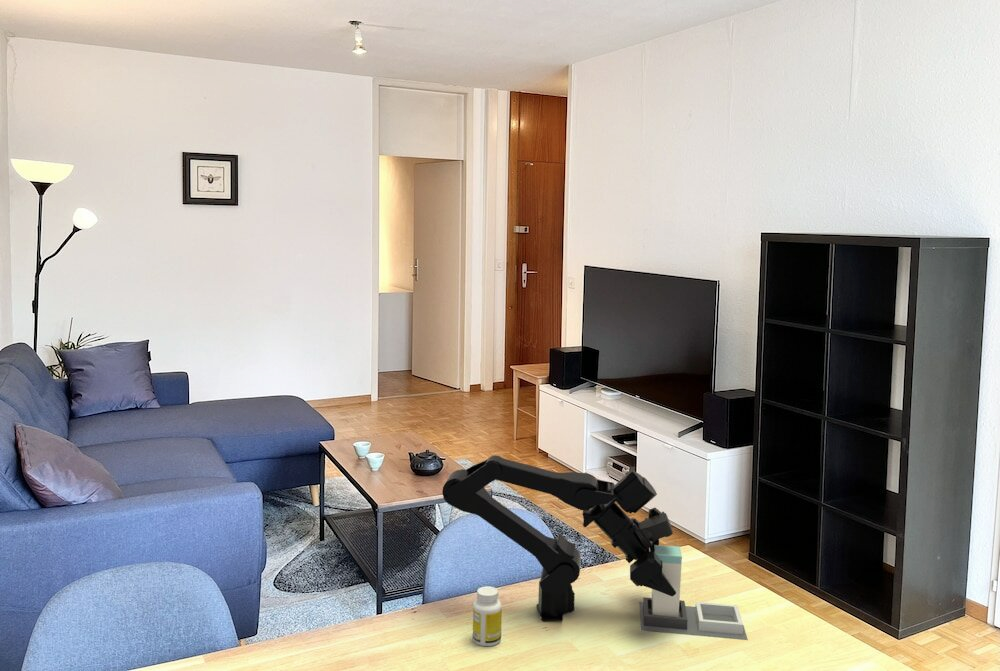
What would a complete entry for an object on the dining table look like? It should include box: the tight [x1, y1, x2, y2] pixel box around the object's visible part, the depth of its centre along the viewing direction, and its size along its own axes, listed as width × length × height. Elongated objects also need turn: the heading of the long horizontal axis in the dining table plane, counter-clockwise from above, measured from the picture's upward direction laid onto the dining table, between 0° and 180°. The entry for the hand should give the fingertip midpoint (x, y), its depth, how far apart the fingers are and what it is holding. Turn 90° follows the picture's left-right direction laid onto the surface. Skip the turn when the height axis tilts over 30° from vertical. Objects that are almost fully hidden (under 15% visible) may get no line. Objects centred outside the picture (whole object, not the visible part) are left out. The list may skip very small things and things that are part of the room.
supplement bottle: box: [472, 586, 503, 647], centre depth 155 cm, size 5×5×10 cm
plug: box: [651, 544, 683, 617], centre depth 163 cm, size 5×5×14 cm
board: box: [639, 596, 749, 641], centre depth 163 cm, size 20×12×3 cm, turn 82°
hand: (672, 584), depth 162 cm, fingers open, 9 cm apart
